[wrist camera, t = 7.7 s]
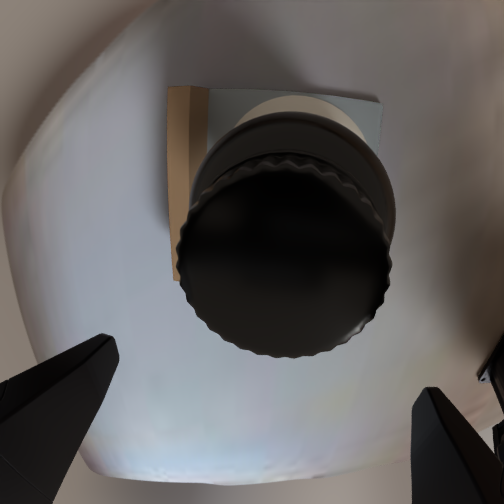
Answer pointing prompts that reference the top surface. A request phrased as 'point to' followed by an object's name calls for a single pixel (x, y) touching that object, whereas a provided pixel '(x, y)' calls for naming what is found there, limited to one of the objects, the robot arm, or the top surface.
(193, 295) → the supplement bottle
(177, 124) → the corner arena
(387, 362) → the top surface
